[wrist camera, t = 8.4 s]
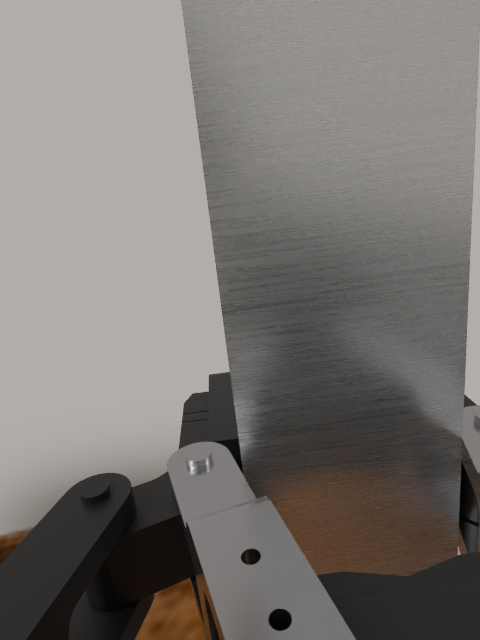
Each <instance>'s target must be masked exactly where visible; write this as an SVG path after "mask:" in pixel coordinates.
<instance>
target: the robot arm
mask: <svg viewBox="0 0 480 640" xmlns="http://www.w3.org/2000/svg"><path fill="white" fill-rule="evenodd" d="M167 469H168V471H167V472H166V473H165V474H163V475H162V476H160V477H158V478H156V479H154V480H152V481H149V482H146V483H144V484H141V485H138V486H135V487H131V483H130V481H129V479H128V478H127V477H125V476H123V475H121V474H117V473H105V474H98V475H95V476H91V477H89V478H86V479H84V480H82V481H80V482H79V483H77V484H75V485H74V486H73V487H72V488H70V490H69V491H67V492H66V493H65V494H64V496H63V497H62V498H61V499H60V500H59V501H58V502H57V503H56V505H55V506H54V507H53V508H52V509H51V510H50V511H49V512H48V513H47V514H46V515H45V517H44V518H43V519H42V520H41V521H40V522H39V523H38V524H37V525H36V526H35V527H34V529H33V530H32V531H31V532H30V533H29V534H28V535H27V536H26V537H25V538H24V540H23V541H22V542H21V543H20V544H19V545H18V546H17V547H16V548H15V549H14V551H13V552H12V553H11V554H10V555H9V556H8V557H7V558H6V559H5V561H4V562H3V563H2V564H1V565H0V640H135V638H136V636H137V634H138V631H139V629H140V627H141V625H142V623H143V621H144V619H145V617H146V615H147V613H148V611H149V609H150V607H151V605H152V602H153V599H154V593H156V592H158V591H160V590H163V589H165V588H167V587H170V586H172V585H174V584H176V583H179V582H181V581H183V580H185V579H188V578H189V580H190V584H191V587H192V591H193V595H194V598H195V602H196V606H197V609H198V613H199V616H200V620H201V624H202V627H203V631H204V634H205V638H206V640H480V405H479V406H477V405H476V404H475V403H474V402H473V401H471V400H470V399H469V398H468V397H467V396H466V395H464V411H463V435H462V456H461V482H460V505H459V526H458V547H459V550H460V553H461V555H458V556H456V557H453V558H451V559H448V560H446V561H444V562H441V563H439V564H436V565H434V566H432V567H429V568H427V569H424V570H422V571H420V572H417V573H415V574H412V575H408V576H397V575H384V574H372V573H359V572H346V571H342V572H335V573H328V574H321V575H316V574H315V572H314V570H313V569H312V567H311V565H310V564H309V562H308V560H307V559H306V557H305V556H304V554H303V552H302V551H301V549H300V547H299V546H298V544H297V543H296V541H295V539H294V538H293V536H292V534H291V533H290V531H289V529H288V528H287V526H286V525H285V523H284V521H283V520H282V518H281V516H280V515H279V513H278V512H277V510H276V508H275V507H274V505H273V503H272V502H271V500H270V499H269V498H268V497H267V496H262V497H259V498H256V497H255V495H254V493H253V491H252V490H251V488H250V486H249V484H248V483H247V481H246V479H245V477H244V475H243V467H242V460H241V452H240V444H239V437H238V429H237V422H236V414H235V406H234V399H233V391H232V384H231V376H230V372H227V373H219V374H211V375H209V392H203V393H194V394H192V395H191V396H190V397H189V399H188V400H187V401H186V402H185V403H184V410H183V418H182V427H181V435H180V444H179V450H177V451H176V452H175V453H174V454H173V455H172V456H171V457H170V459H169V460H168V464H167Z"/></svg>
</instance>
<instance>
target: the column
mask: <svg viewBox="0 0 480 640" xmlns="http://www.w3.org/2000/svg"><path fill="white" fill-rule="evenodd" d="M181 2H182V10H183V18H184V25H185V33H186V41H187V48H188V56H189V63H190V71H191V79H192V85H193V94H194V102H195V109H196V116H197V124H198V132H199V140H200V147H201V155H202V161H203V169H204V177H205V185H206V193H207V201H208V207H209V216H210V223H211V231H212V239H213V246H214V254H215V261H216V269H217V277H218V284H219V292H220V299H221V307H222V315H223V322H224V329H225V338H226V345H227V353H228V360H229V367H230V376H231V384H232V391H233V399H234V406H235V414H236V422H237V429H238V437H239V444H240V452H241V460H242V467H243V475H244V477H245V479H246V481H247V483H248V484H249V486H250V488H251V490H252V491H253V493H254V495H255V497H256V498H259V497H262V496H267V497H268V498H269V499H270V500H271V502H272V503H273V505H274V507H275V508H276V510H277V512H278V513H279V515H280V516H281V518H282V520H283V521H284V523H285V525H286V526H287V528H288V529H289V531H290V533H291V534H292V536H293V538H294V539H295V541H296V543H297V544H298V546H299V547H300V549H301V551H302V552H303V554H304V556H305V557H306V559H307V560H308V562H309V564H310V565H311V567H312V569H313V570H314V572H315V574H316V575H321V574H328V573H335V572H342V571H346V572H359V573H372V574H384V575H397V576H408V575H412V574H415V573H417V572H420V571H422V570H424V569H427V568H429V567H432V566H434V565H436V564H439V563H441V562H444V561H446V560H448V559H451V558H453V557H456V556H457V551H458V526H459V505H460V482H461V456H462V435H463V411H464V388H465V364H466V363H465V362H466V341H467V317H468V294H469V293H468V292H469V270H470V247H471V222H472V201H473V200H472V198H473V177H474V152H475V130H476V106H477V83H478V81H477V80H478V59H479V36H480V0H181Z"/></svg>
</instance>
